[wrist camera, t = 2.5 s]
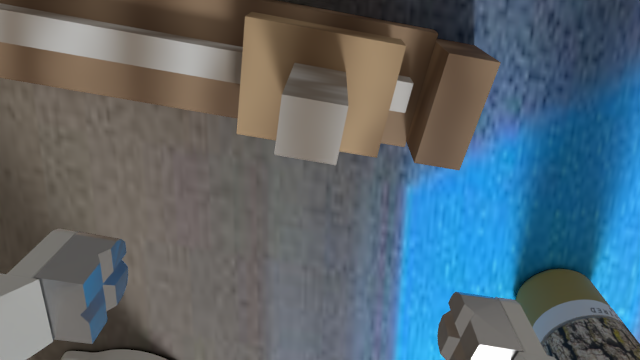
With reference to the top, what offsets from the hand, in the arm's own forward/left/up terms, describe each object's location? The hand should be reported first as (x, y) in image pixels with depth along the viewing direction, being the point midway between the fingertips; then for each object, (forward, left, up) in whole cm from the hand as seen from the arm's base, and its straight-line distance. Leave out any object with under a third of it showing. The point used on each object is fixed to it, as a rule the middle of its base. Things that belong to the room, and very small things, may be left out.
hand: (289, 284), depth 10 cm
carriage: (0, 0, -19) cm, 19 cm away
